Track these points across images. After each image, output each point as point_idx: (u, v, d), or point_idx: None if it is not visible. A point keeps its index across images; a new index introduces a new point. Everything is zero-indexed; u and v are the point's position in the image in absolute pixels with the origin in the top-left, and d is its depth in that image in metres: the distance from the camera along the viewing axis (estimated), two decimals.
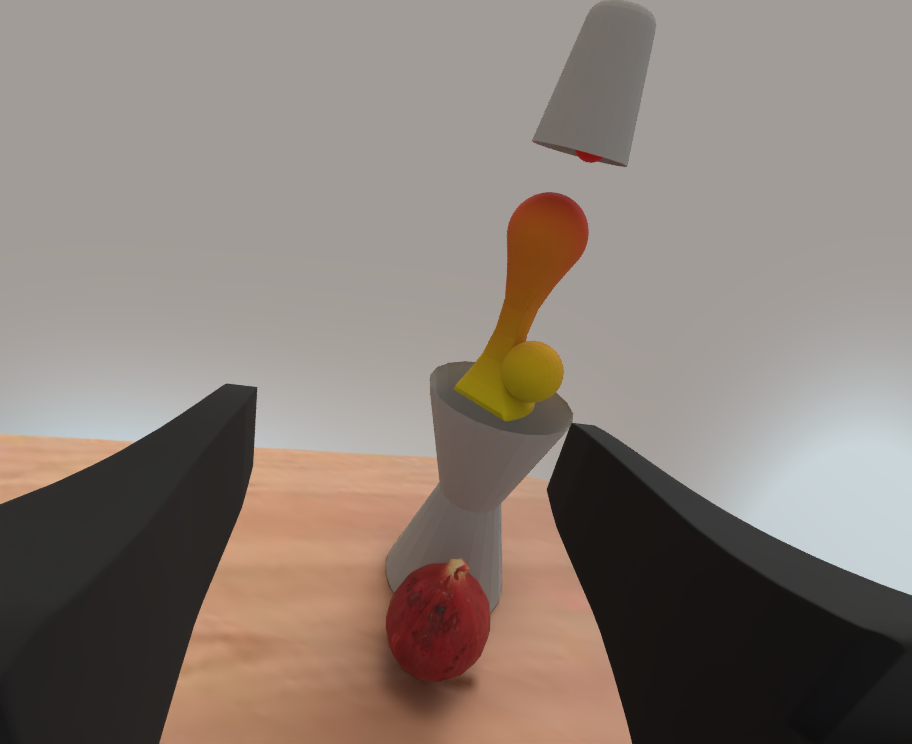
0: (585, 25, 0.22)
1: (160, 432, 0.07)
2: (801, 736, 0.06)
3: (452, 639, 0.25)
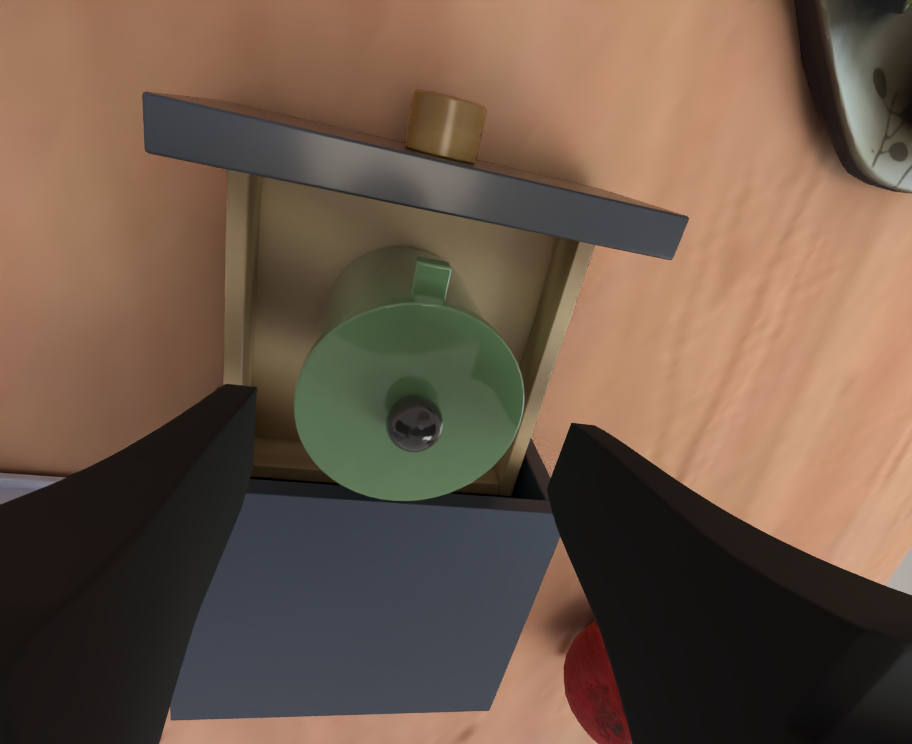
0: None
1: (160, 432, 0.07)
2: (801, 736, 0.06)
3: (588, 717, 0.26)
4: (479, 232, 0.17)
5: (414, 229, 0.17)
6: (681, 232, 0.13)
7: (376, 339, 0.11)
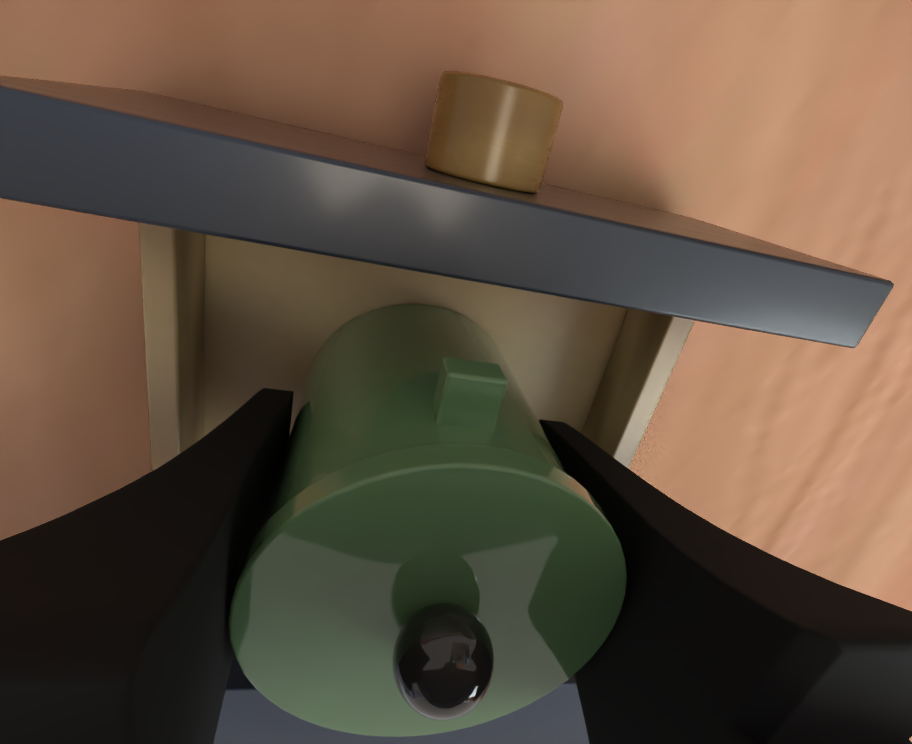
0: None
1: (212, 437, 0.08)
2: (744, 739, 0.06)
3: None
4: None
5: (433, 280, 0.12)
6: (878, 307, 0.08)
7: (376, 526, 0.06)
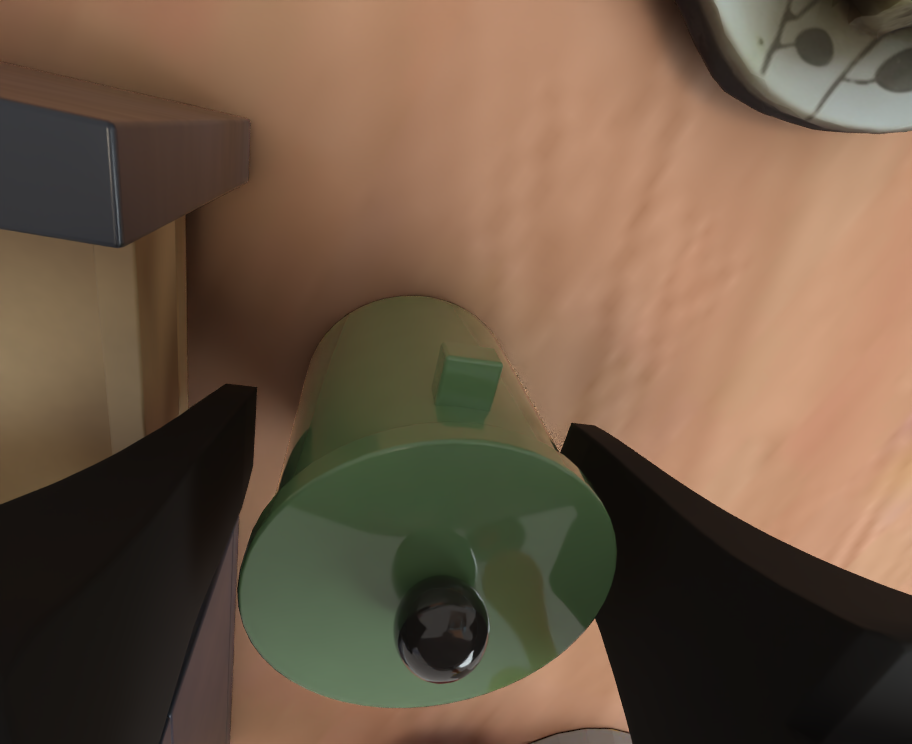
0: None
1: (160, 432, 0.07)
2: (801, 736, 0.06)
3: None
4: None
5: None
6: (106, 168, 0.05)
7: (378, 498, 0.07)
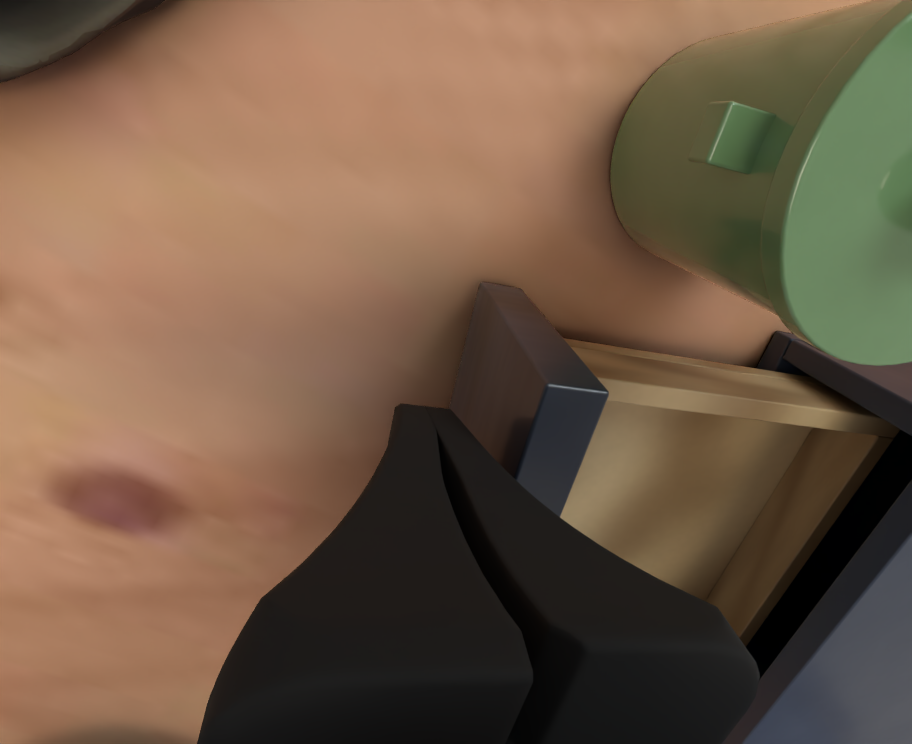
0: None
1: (395, 453, 0.08)
2: None
3: None
4: None
5: None
6: (568, 391, 0.08)
7: (826, 247, 0.07)
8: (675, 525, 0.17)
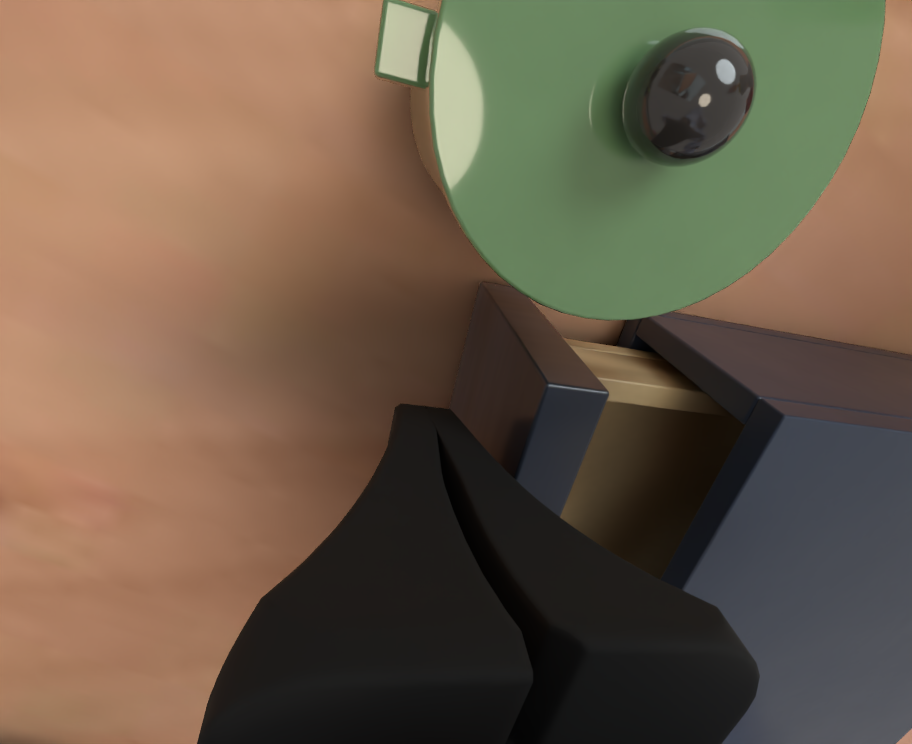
0: None
1: (395, 453, 0.08)
2: None
3: None
4: None
5: None
6: (568, 391, 0.08)
7: (497, 170, 0.06)
8: (676, 526, 0.17)
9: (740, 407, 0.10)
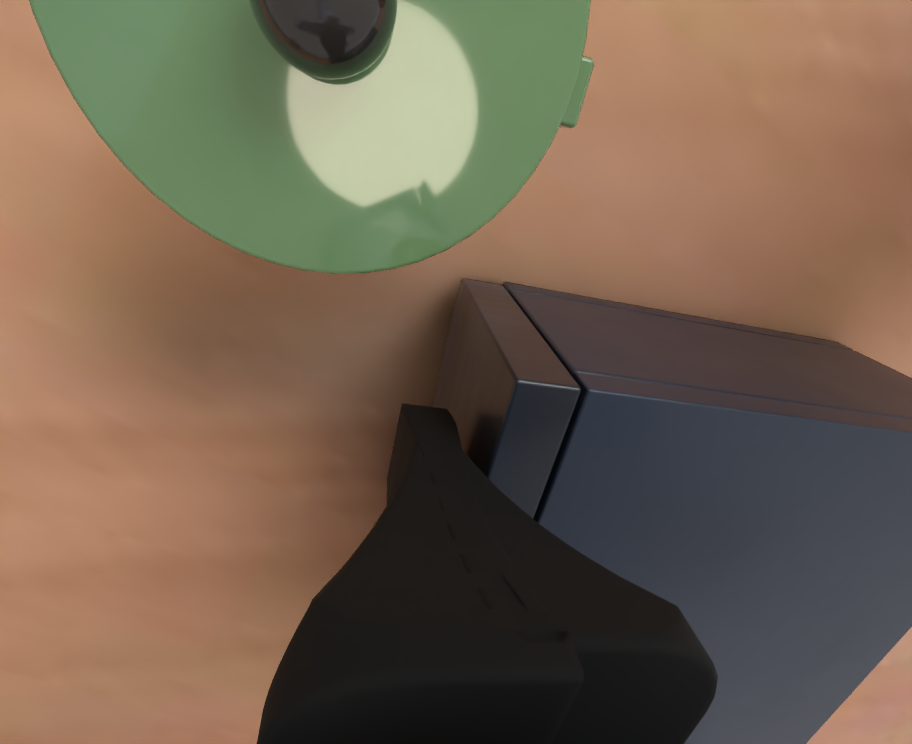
0: None
1: (421, 456, 0.08)
2: None
3: None
4: None
5: None
6: (538, 387, 0.08)
7: (139, 86, 0.05)
8: None
9: None
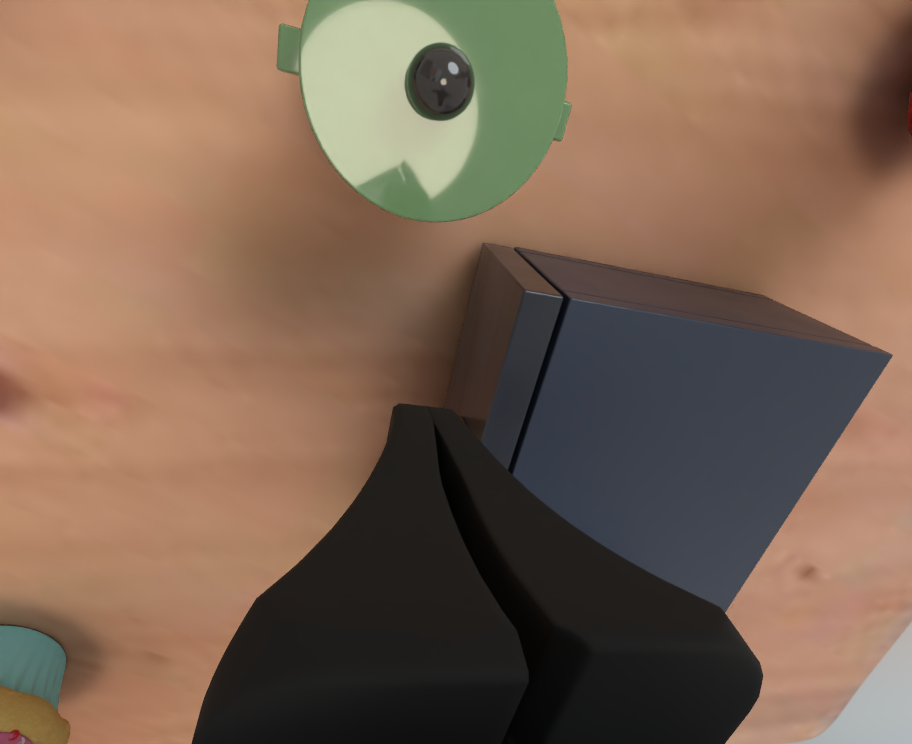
0: None
1: (393, 453, 0.08)
2: None
3: None
4: None
5: None
6: (538, 295, 0.14)
7: (344, 124, 0.11)
8: None
9: None
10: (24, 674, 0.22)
